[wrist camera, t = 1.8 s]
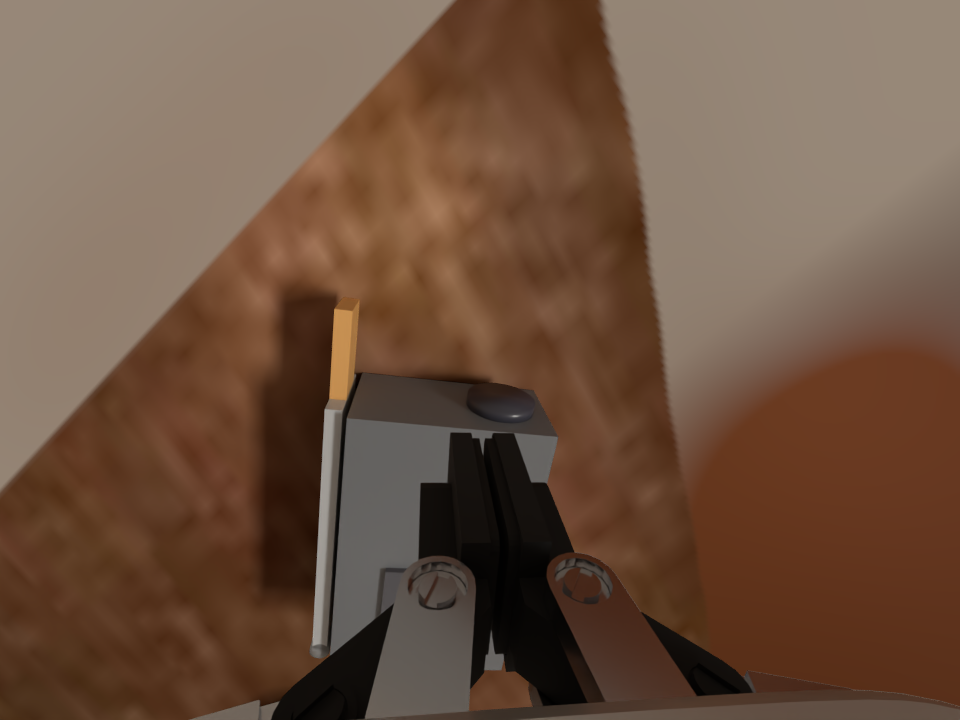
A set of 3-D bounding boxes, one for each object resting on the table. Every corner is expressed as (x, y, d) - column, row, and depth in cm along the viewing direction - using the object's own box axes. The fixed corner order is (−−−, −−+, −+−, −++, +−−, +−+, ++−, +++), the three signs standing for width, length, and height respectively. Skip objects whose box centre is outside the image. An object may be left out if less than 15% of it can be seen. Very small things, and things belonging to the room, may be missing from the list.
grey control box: (489, 594, 33) (503, 683, 27) (345, 589, 31) (326, 683, 25) (535, 381, 27) (565, 434, 21) (363, 362, 26) (344, 414, 20)
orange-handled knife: (342, 594, 31) (328, 658, 27) (325, 593, 31) (309, 657, 26) (365, 295, 24) (352, 317, 20) (343, 292, 24) (325, 314, 20)
